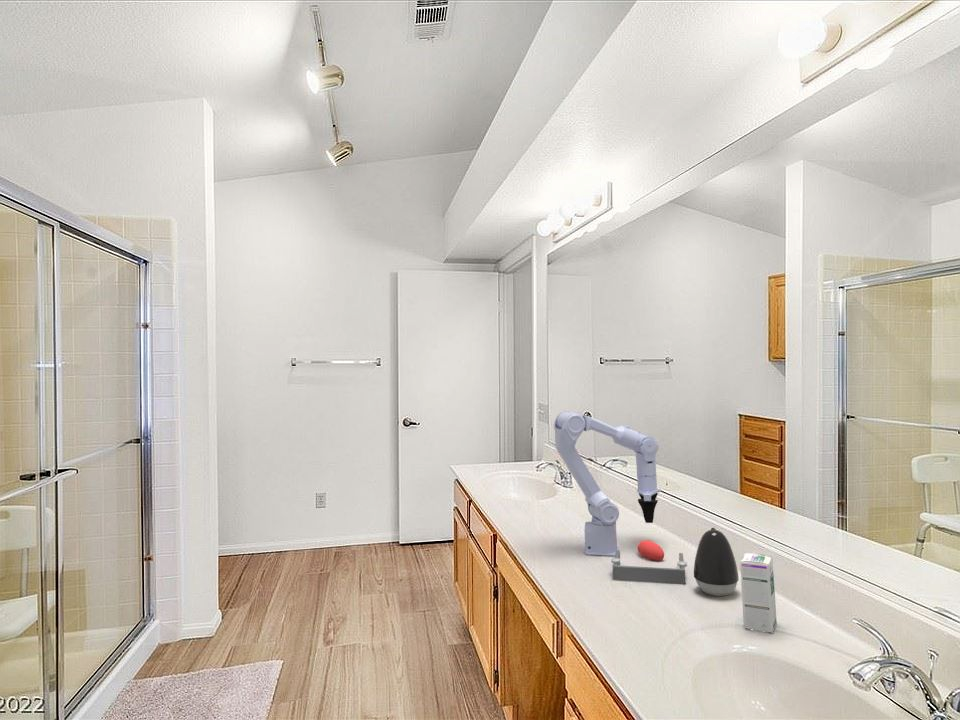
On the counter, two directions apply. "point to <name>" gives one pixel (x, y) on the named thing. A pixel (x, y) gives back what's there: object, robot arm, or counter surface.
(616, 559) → the gray u-shaped bracket
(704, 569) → the black egg-shaped device
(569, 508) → the counter surface
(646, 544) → the red kidney bean shape
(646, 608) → the counter surface
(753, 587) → the syrup box
